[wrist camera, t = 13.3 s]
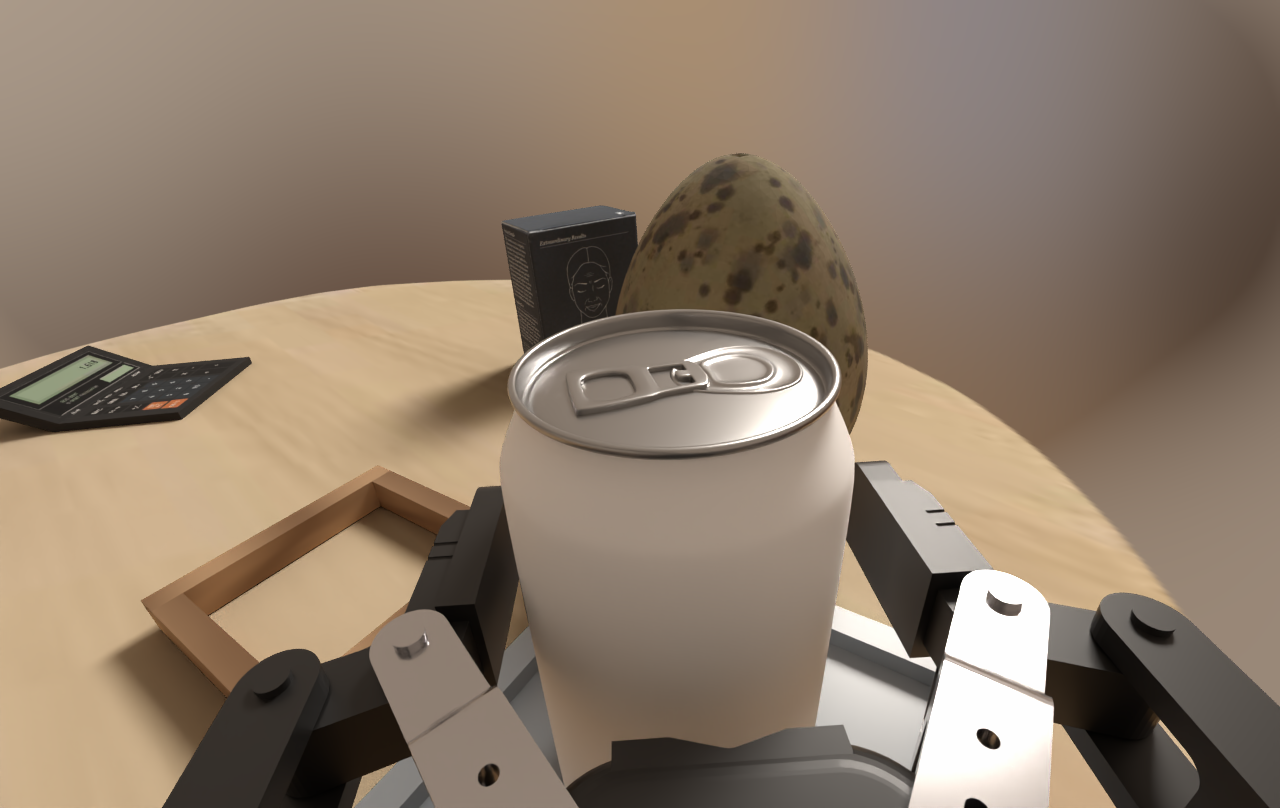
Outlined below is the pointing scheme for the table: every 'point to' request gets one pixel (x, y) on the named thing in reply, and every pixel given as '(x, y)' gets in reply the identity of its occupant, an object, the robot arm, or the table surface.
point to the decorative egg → (753, 261)
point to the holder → (280, 567)
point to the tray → (851, 696)
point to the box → (568, 267)
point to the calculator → (112, 391)
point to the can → (677, 526)
